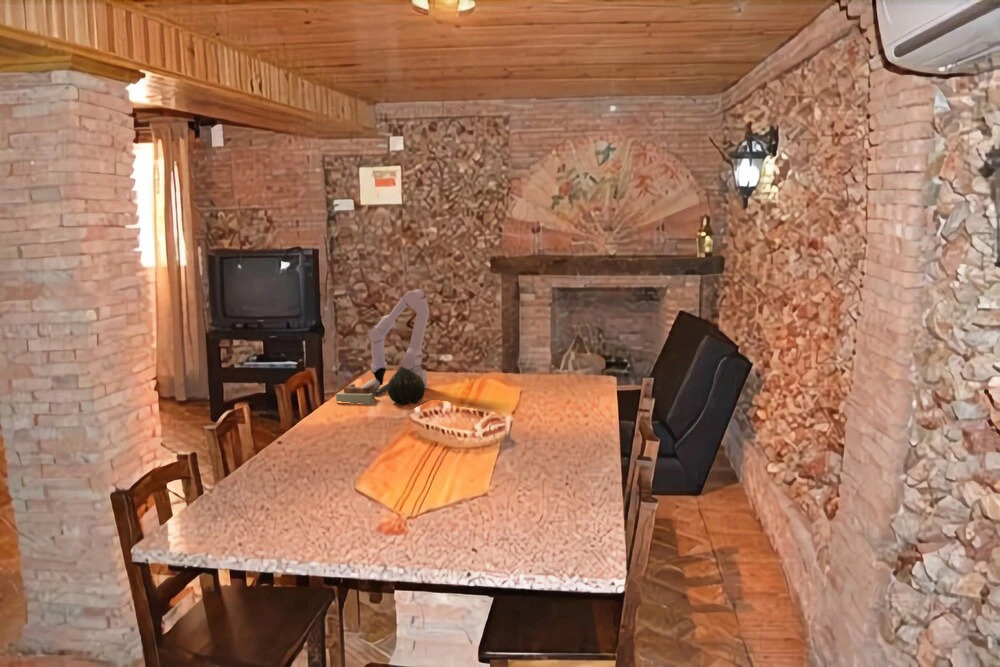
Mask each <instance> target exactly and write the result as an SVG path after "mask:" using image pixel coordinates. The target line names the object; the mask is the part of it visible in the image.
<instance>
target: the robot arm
mask: <svg viewBox="0 0 1000 667" xmlns="http://www.w3.org/2000/svg"><path fill="white" fill-rule="evenodd" d="M407 307H410V308H412V309H413V311H414V312H415V314H416V316H415V320H414V323H413V328H412V333H411V338H410V342H409V346H408V348H407V350H406V352H405V355H404V356H403V358H402V360H401V366H402V367H403V368H406V369H408V370H410V371H412V372H414V373H415V374H417V375H418V376H420V377H421V379H422V380H423V382H424V385H425V388H426V389H427V388H428V387H429V386H428V378H427V377H428V376H427V370H425V369H421V368H422V367H421V365H422V363H423V358H422V357H423V356H422V354H423V351H422V347H423V346H422V345H423V342H424V339H425V338H424V337H425V333H426V328H427V324H428V320H429V315H430V312H431V311H430V306H429V303H428V295H427V294H426V293H425V292H424V290H423V289H421V288H417V289H414V290H408V291H407V292H406V293H405V294H404V295H403V296H402V297H401V298H400V299H399V301H398V302H397V303H396V305H395V306H394V307H393V309H392V310H391V312H390V313H389V314H387V315H384V316H381V317H380V321H379V322H377V324H375V325H374V328H372V329H370V330H369V332H368V339H369V341H370V342H371V343H370V345H371V361H372V362H371V364H369V367H370V373H372V374H373V376H374V377H375V378H374V379H378V381H379V382H380V386H383V383H384V377H385V374H386V373H387V372H386V371H387V369H386V367H387V366H388V362H387V361H386V354H385V351H386V350H385V339H386V337H387V334H388V333H389V332H390V330H391V329H392V328H393V327H394V326H395V324H396V319H397V318H398V317H399V315H400V314H401V313H403V311H404V310H405V309H406V308H407Z"/></svg>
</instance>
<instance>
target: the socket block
mask: <svg viewBox="0 0 1000 667" xmlns="http://www.w3.org/2000/svg"><path fill="white" fill-rule="evenodd" d="M343 393H373V400H374V399H375V391H374V384H370V385H368V386H367V387H361V386H360V387H359V386H356V384H355V383H351V384H349V385H348V386H346V387H343Z"/></svg>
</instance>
